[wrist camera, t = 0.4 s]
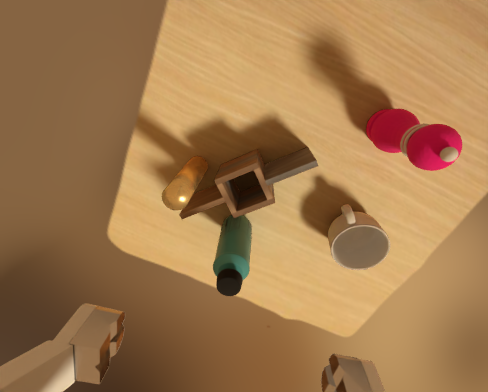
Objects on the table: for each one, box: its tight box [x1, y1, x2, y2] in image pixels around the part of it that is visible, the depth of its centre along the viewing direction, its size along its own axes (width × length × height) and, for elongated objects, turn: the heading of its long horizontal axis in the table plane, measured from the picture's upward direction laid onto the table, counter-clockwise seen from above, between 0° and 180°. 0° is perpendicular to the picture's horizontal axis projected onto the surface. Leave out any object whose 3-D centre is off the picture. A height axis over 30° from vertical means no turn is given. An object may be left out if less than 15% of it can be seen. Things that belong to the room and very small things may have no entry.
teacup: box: [328, 204, 390, 270], centre depth 55 cm, size 14×11×8 cm
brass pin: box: [162, 156, 208, 210], centre depth 48 cm, size 4×4×16 cm
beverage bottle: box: [213, 215, 252, 296], centre depth 51 cm, size 6×7×20 cm
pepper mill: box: [366, 109, 462, 171], centre depth 41 cm, size 7×7×20 cm
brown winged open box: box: [179, 147, 318, 219], centre depth 51 cm, size 8×26×9 cm, turn 114°
